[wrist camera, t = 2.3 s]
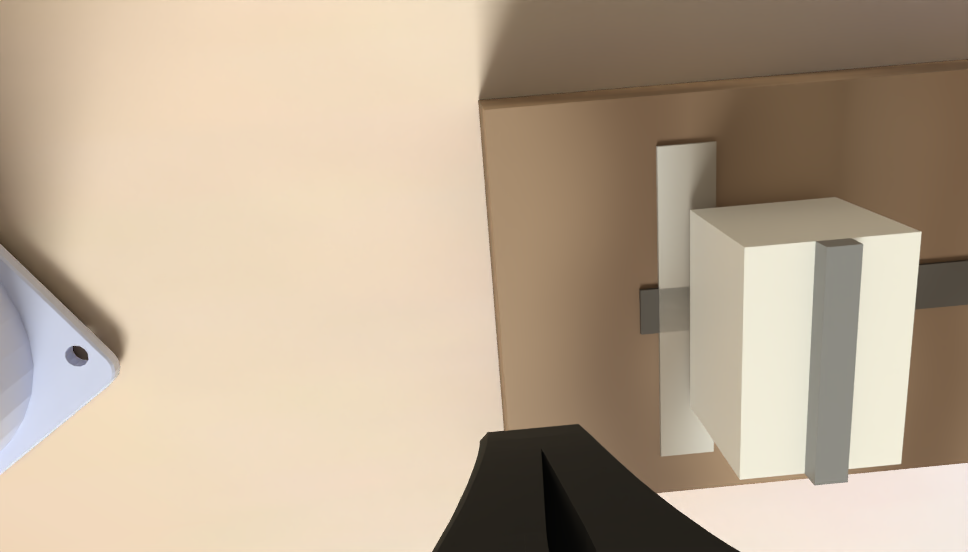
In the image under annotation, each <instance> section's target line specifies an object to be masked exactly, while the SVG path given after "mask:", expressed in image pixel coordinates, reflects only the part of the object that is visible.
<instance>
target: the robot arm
mask: <svg viewBox="0 0 968 552" xmlns="http://www.w3.org/2000/svg"><path fill="white" fill-rule="evenodd" d="M73 346H80V347H82V348H84V349H85V350H86V352H87V353H88V360H82V359H80V358H78V357H77V356H76V355H75V354H74V352H73ZM119 371H120V364H119V360H118V358H117V357H116V355H115V354H114V353H113V352H112V351H111V350H110V349H109V348H108V347H107V346H106V345H105V344H104V343H103V342H102V341H101V340H100V339H99V338H98V337H97V336H96V335H95V334H93V333H92V332H91V331H90V330H89V329H88V328H87V327H86V326H85V325H84V324H83V323H82V322H81V321H80V320H79V319H78V318H77V317H76V316H75V315H74V314H73V313H72V312H71V311H70V310H69V309H67V308H66V307H65V306H64V305H63V304H62V303H61V302H60V301H59V300H58V299H57V298H56V297H55V296H54V295H53V294H52V293H51V292H50V291H49V290H48V289H47V288H46V287H45V286H44V285H43V284H42V283H40V282H39V281H38V280H37V279H36V278H35V277H34V276H33V275H32V274H31V273H30V272H29V271H28V270H27V269H26V268H25V267H24V266H23V265H22V264H21V263H20V262H19V261H18V260H17V259H16V258H14V257H13V256H12V255H11V254H10V253H9V252H8V251H7V250H6V249H5V248H4V247H3V246H2V245H1V244H0V475H1V474H2V473H3V472H4V471H5V470H7V469H8V468H9V467H10V466H12V465H13V464H14V463H15V462H16V461H18V460H19V459H20V458H21V457H23V456H24V455H25V454H26V453H27V452H29V451H30V450H31V449H32V448H33V447H35V446H36V445H37V444H38V443H40V442H41V441H42V440H43V439H44V438H46V437H47V436H48V435H49V434H50V433H52V432H53V431H54V430H55V429H57V428H58V427H59V426H60V425H61V424H63V423H64V422H65V421H66V420H68V419H69V418H70V417H71V416H72V415H74V414H75V413H76V412H77V411H78V410H80V409H81V408H82V407H83V406H85V405H86V404H87V403H88V402H89V401H91V400H92V399H93V398H94V397H95V396H97V395H98V394H99V393H100V392H102V391H103V390H104V389H105V388H106V387H108V386H109V385H110V384H111V383H112V382H113V381H114V380H115V378H116V377H117V376H118V375H119ZM432 552H740V551H738V550H736V549H735V548H733V547H731V546H730V545H728V544H726V543H725V542H723V541H722V540H720V539H719V538H717V537H716V536H714V535H713V534H711V533H710V532H708V531H707V530H705V529H704V528H702V527H701V526H700V525H698V524H697V523H695V522H694V521H693V520H691V519H690V518H688V517H687V516H686V515H684V514H683V513H681V512H680V511H678V510H677V509H676V508H674V507H673V506H672V505H670V504H669V503H668V502H667V501H665V500H664V499H663V498H661V497H660V496H659V495H658V494H657V493H655V492H654V491H653V490H652V489H651V488H649V487H648V486H647V485H646V484H644V483H643V482H642V481H641V480H640V479H638V478H637V477H636V476H635V475H634V474H633V473H632V472H630V471H629V470H628V469H627V468H626V467H625V466H624V465H623V464H622V463H620V462H619V461H618V460H617V459H616V458H615V457H614V456H613V455H612V454H611V453H610V452H609V451H607V450H606V449H605V448H604V447H603V446H602V445H601V444H600V443H599V442H598V441H597V440H596V439H595V438H594V437H593V436H592V435H591V434H589V433H588V432H587V431H586V430H585V429H584V428H583V427H582V426H580V425H579V424H572V425H561V426H550V427H540V428H529V429H518V430H508V431H497V432H488V433H487V434H486V435H485V436H484V437H483V438H482V439H481V440H480V447H479V452H478V456H477V460H476V463H475V466H474V469H473V471H472V474H471V476H470V479H469V482H468V484H467V486H466V488H465V491H464V493H463V495H462V497H461V499H460V501H459V503H458V506H457V508H456V510H455V512H454V514H453V516H452V518H451V520H450V522H449V524H448V525H447V527H446V529H445V531H444V532H443V534H442V536H441V537H440V539H439V541H438V543H437V544H436V546H435V548H434V549H433V551H432Z"/></svg>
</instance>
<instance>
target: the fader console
mask: <svg viewBox="0 0 968 552" xmlns="http://www.w3.org/2000/svg"><path fill="white" fill-rule="evenodd" d="M478 103H479V115H480V128H481V141H482V154H483V166H484V179H485V192H486V205H487V218H488V230H489V243H490V256H491V269H492V281H493V294H494V307H495V320H496V332H497V345H498V358H499V371H500V383H501V396H502V409H503V422H504V431H508V430H518V429H529V428H540V427H550V426H561V425H572V424H579V425H580V426H582V427H583V428H584V429H585V430H586V431H587V432H588V433H589V434H591V435H592V436H593V437H594V438H595V439H596V440H597V441H598V442H599V443H600V444H601V445H602V446H603V447H604V448H605V449H606V450H607V451H609V452H610V453H611V454H612V455H613V456H614V457H615V458H616V459H617V460H618V461H619V462H620V463H622V464H623V465H624V466H625V467H626V468H627V469H628V470H629V471H630V472H632V473H633V474H634V475H635V476H636V477H637V478H638V479H640V480H641V481H642V482H643V483H644V484H646V485H647V486H648V487H649V488H651V489H652V490H653V491H654V492H655V493H662V492H673V491H683V490H693V489H703V488H714V487H724V486H734V485H744V484H755V483H765V482H775V481H785V480H796V479H806V478H808V477H807V476H806V475H805V473H804V474H793V475H783V476H773V477H763V478H752V479H742V480H740V479H739V478H738V476H737V475H736V473H735V472H734V470H733V469H732V467H731V466H730V464H729V463H728V461H727V460H726V458H725V457H724V456H723V454H722V453H721V451H720V450H719V448H718V447H717V445H716V444H715V442H714V441H713V439H712V438H711V436H710V435H709V433H708V432H707V430H706V429H705V427H704V426H703V424H702V423H701V421H700V420H699V418H698V417H697V416H696V414H695V413H694V411H693V410H692V408H691V407H690V210H694V209H705V208H717V207H728V206H739V205H751V204H762V203H773V202H785V201H796V200H807V199H819V198H830V197H837V198H839V199H842V200H844V201H847V202H849V203H852V204H854V205H857V206H859V207H862V208H864V209H866V210H869V211H871V212H874V213H876V214H879V215H881V216H884V217H886V218H889V219H891V220H894V221H896V222H899V223H901V224H904V225H906V226H909V227H911V228H914V229H916V230H919V231H921V232H922V233H921V244H920V256H919V267H918V278H917V290H916V301H915V312H914V323H913V335H912V346H911V357H910V369H909V380H908V391H907V403H906V414H905V425H904V437H903V448H902V459H901V464H896V465H886V466H875V467H865V468H855V469H848V474H857V473H867V472H877V471H888V470H898V469H908V468H918V467H929V466H939V465H949V464H959V463H968V59H966V60H954V61H942V62H930V63H918V64H906V65H894V66H882V67H870V68H858V69H846V70H834V71H822V72H810V73H799V74H787V75H775V76H763V77H751V78H739V79H727V80H715V81H703V82H691V83H679V84H667V85H655V86H643V87H631V88H619V89H607V90H595V91H583V92H572V93H560V94H548V95H536V96H524V97H512V98H500V99H488V100H478Z"/></svg>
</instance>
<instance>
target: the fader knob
mask: <svg viewBox="0 0 968 552" xmlns="http://www.w3.org/2000/svg"><path fill="white" fill-rule="evenodd" d="M921 233H922V232H921V231H919V230H916V229H914V228H911V227H909V226H906V225H904V224H901V223H899V222H896V221H894V220H891V219H889V218H886V217H884V216H881V215H879V214H876V213H874V212H871V211H869V210H866V209H864V208H862V207H859V206H857V205H854V204H852V203H849V202H847V201H844V200H842V199H839V198H837V197H830V198H819V199H807V200H796V201H785V202H773V203H762V204H751V205H739V206H728V207H717V208H705V209H694V210H690V407H691V408H692V410H693V411H694V413H695V414H696V416H697V417H698V418H699V420H700V421H701V423H702V424H703V426H704V427H705V429H706V430H707V432H708V433H709V435H710V436H711V438H712V439H713V441H714V442H715V444H716V445H717V447H718V448H719V450H720V451H721V453H722V454H723V456H724V457H725V458H726V460H727V461H728V463H729V464H730V466H731V467H732V469H733V470H734V472H735V473H736V475H737V476H738V478H739V479H740V480H742V479H752V478H763V477H773V476H783V475H793V474H804V473H805V475H806V476H807V477H808V478H809V479H810V481H811V482H812V483H813V484H814V485H823V484H833V483H843V482H848V469H855V468H865V467H875V466H886V465H896V464H901V459H902V448H903V437H904V425H905V414H906V403H907V391H908V380H909V369H910V357H911V346H912V335H913V323H914V312H915V301H916V290H917V278H918V267H919V256H920V244H921Z"/></svg>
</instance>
